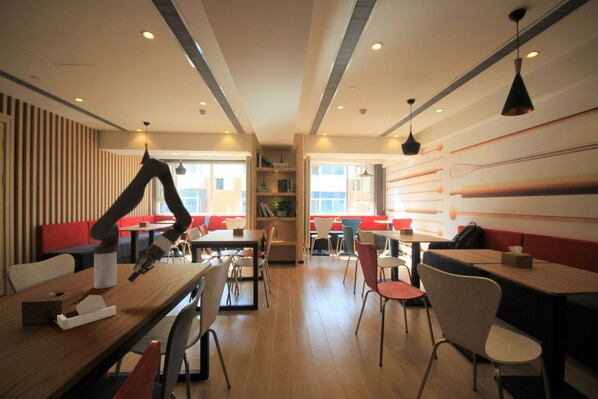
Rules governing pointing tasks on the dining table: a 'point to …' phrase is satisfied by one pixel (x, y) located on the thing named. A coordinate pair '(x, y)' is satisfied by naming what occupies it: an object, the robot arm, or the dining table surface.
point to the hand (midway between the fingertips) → (129, 280)
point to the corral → (84, 318)
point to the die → (91, 304)
